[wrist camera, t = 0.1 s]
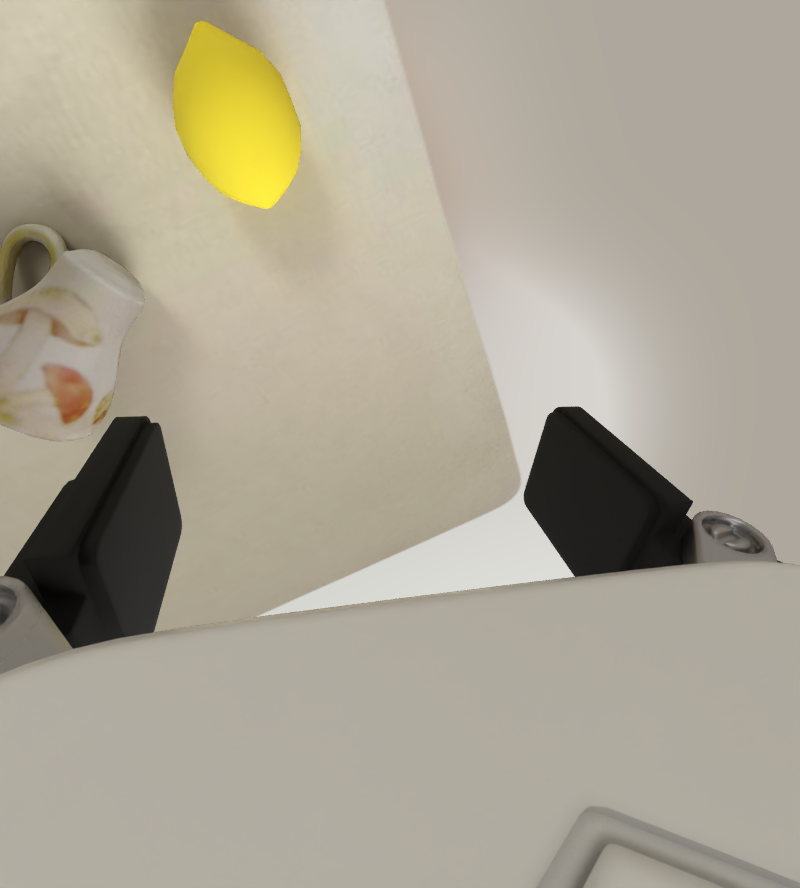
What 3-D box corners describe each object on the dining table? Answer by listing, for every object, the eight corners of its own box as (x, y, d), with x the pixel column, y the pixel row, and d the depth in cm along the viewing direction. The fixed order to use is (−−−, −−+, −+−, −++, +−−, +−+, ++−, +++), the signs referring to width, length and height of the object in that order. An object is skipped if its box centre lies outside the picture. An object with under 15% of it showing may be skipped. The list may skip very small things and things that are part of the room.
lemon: (317, 190, 24) (324, 198, 20) (222, 217, 24) (208, 230, 20) (268, 21, 20) (263, -17, 16) (153, 51, 20) (117, 21, 16)
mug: (194, 283, 26) (145, 430, 21) (112, 347, 31) (57, 478, 26) (47, 177, 20) (-64, 340, 16) (-23, 274, 25) (-125, 423, 20)
